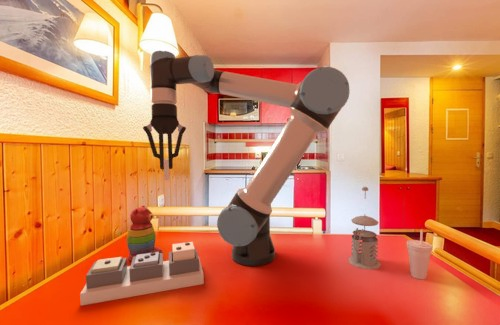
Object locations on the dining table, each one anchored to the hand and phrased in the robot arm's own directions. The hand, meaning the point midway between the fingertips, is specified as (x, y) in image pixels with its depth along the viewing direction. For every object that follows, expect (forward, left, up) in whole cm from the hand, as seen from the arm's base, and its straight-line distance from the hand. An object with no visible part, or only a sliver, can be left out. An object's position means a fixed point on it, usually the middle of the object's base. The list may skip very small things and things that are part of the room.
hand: (166, 179), depth 81 cm
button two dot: (-4, +9, -23) cm, 25 cm away
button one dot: (+16, +8, -25) cm, 31 cm away
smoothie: (-69, +31, -29) cm, 81 cm away
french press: (-60, +19, -29) cm, 69 cm away
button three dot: (+6, +9, -25) cm, 27 cm away
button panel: (+6, +9, -28) cm, 30 cm away
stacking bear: (+9, -11, -29) cm, 32 cm away
